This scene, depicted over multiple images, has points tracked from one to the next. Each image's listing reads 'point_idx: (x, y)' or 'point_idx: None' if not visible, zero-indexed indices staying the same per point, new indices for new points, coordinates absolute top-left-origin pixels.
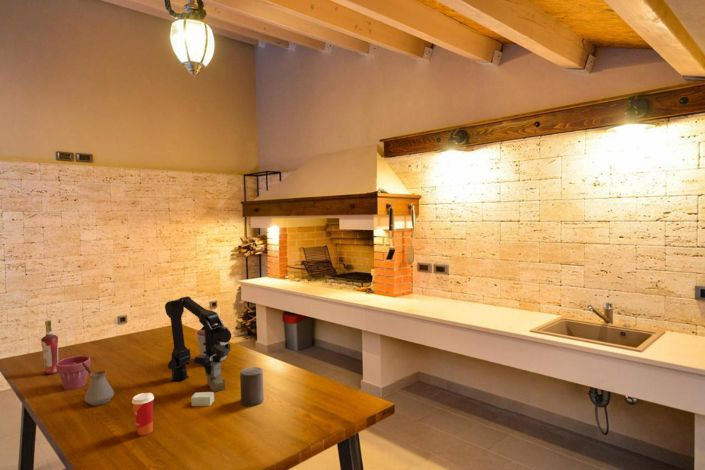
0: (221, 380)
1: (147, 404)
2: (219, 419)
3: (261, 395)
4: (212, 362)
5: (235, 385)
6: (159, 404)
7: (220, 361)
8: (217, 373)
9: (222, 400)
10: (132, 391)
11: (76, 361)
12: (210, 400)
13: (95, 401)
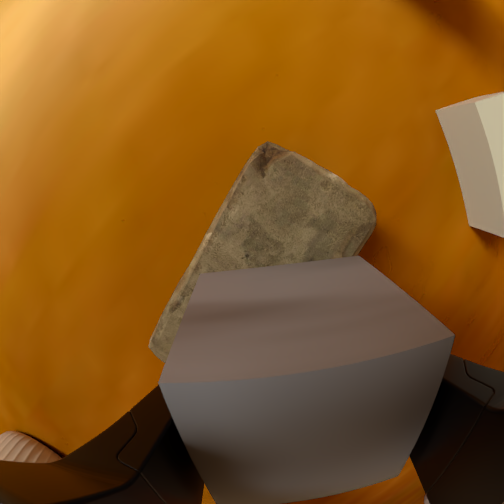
0: (295, 169)
1: None
2: (501, 8)
3: None
4: (243, 492)
5: (153, 130)
6: (493, 354)
7: (31, 438)
8: (286, 274)
9: (411, 55)
10: (390, 489)
11: None
12: (492, 94)
13: None
